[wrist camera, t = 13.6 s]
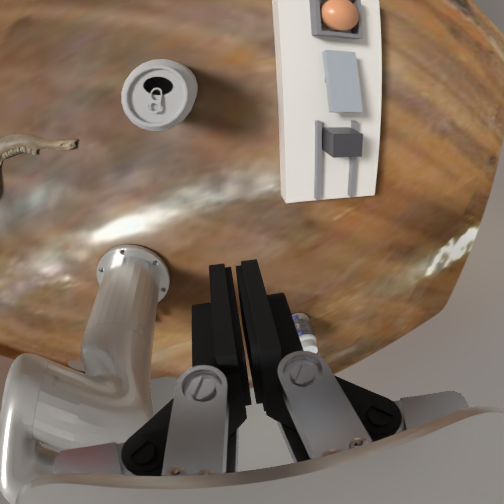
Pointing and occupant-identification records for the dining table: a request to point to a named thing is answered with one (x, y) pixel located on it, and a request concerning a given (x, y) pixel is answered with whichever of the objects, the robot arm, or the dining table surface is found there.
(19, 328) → the dining table surface
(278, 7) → the panel
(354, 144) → the slider
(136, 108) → the can
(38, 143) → the jawbone
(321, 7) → the button
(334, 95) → the slate rocker
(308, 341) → the pill bottle
